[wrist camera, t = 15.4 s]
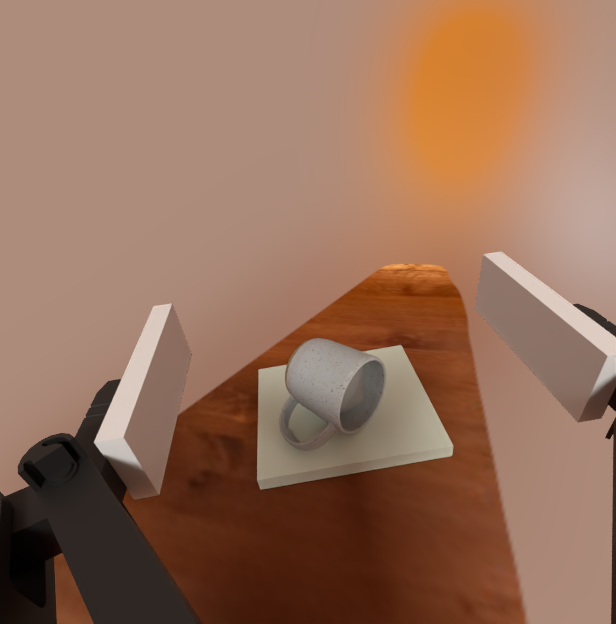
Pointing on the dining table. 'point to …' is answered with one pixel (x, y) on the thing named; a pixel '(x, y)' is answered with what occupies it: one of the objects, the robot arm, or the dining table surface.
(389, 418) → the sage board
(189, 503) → the dining table surface
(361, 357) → the ceramic mug
